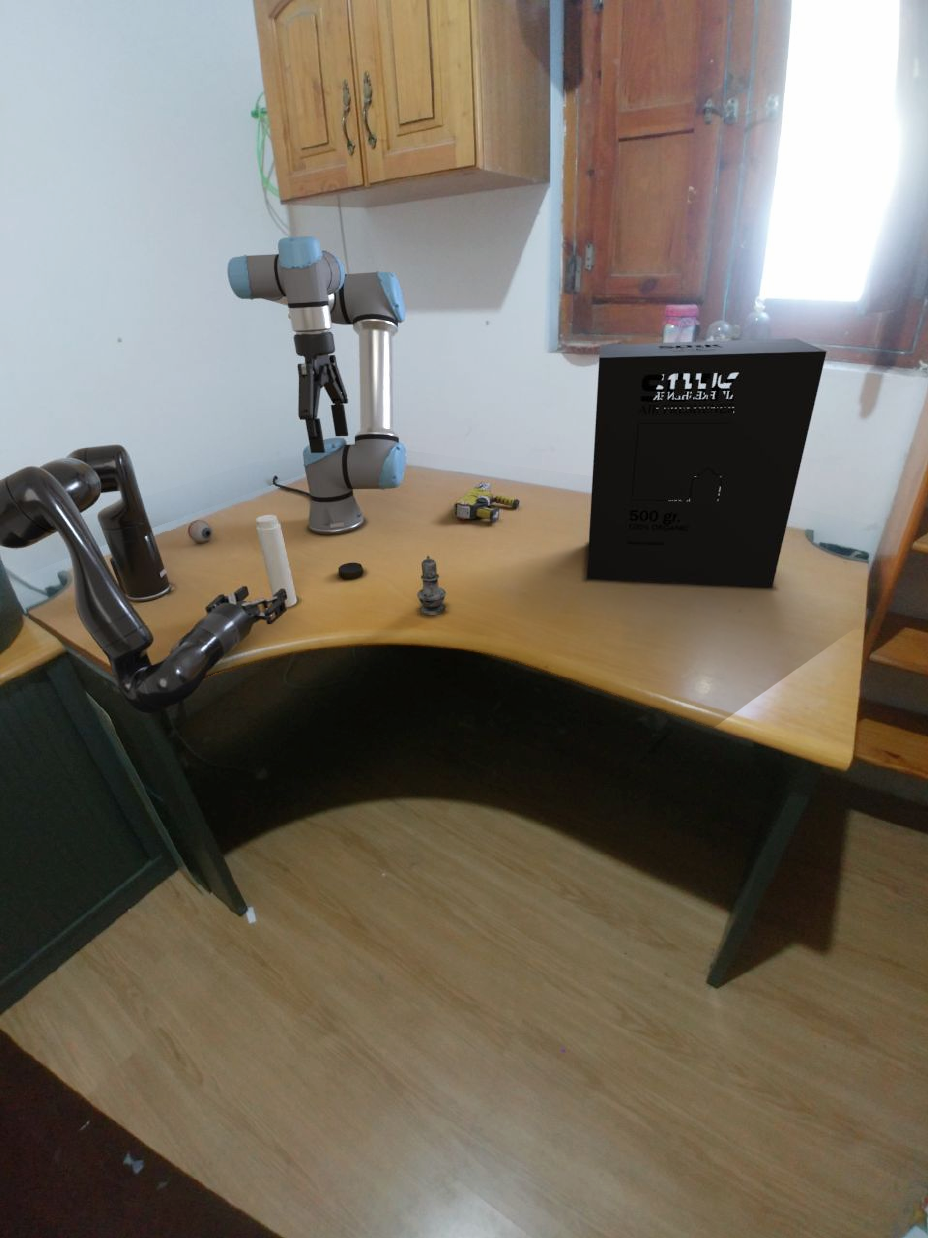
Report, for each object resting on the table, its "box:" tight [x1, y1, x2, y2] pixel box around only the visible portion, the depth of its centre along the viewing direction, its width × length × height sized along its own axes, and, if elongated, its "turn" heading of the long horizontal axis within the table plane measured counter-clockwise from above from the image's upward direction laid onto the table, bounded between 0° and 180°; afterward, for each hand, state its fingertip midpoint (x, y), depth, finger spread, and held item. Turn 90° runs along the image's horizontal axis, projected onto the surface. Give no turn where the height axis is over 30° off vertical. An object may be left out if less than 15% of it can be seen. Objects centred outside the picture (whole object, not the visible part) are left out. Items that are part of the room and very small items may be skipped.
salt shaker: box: [416, 555, 447, 616], centre depth 121 cm, size 6×6×12 cm
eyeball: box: [187, 519, 213, 544], centre depth 162 cm, size 6×6×6 cm
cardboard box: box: [586, 338, 828, 589], centre depth 126 cm, size 38×20×45 cm, turn 78°
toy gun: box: [453, 481, 520, 524], centre depth 173 cm, size 5×24×15 cm
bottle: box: [255, 514, 298, 608], centre depth 125 cm, size 5×5×19 cm
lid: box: [338, 562, 364, 581], centre depth 140 cm, size 6×6×2 cm
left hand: (265, 591), depth 122 cm, fingers open, 8 cm apart
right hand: (330, 443), depth 126 cm, fingers open, 13 cm apart
